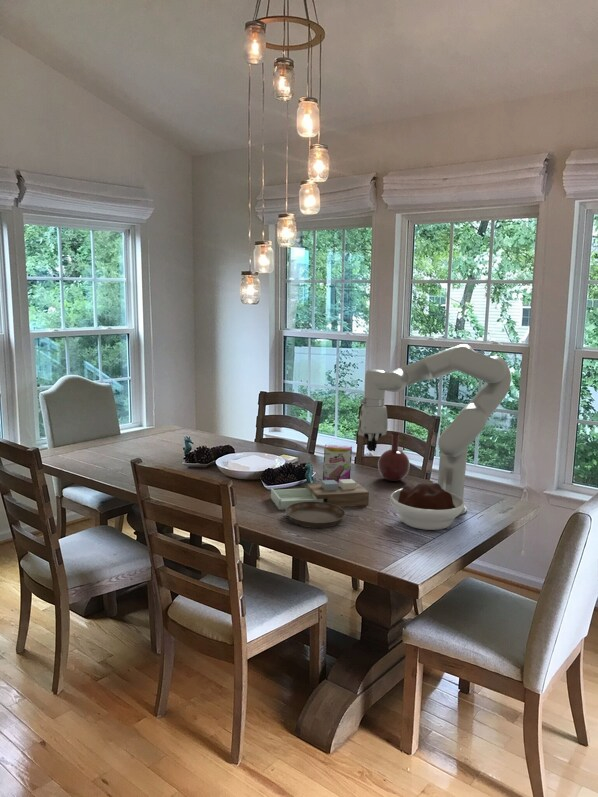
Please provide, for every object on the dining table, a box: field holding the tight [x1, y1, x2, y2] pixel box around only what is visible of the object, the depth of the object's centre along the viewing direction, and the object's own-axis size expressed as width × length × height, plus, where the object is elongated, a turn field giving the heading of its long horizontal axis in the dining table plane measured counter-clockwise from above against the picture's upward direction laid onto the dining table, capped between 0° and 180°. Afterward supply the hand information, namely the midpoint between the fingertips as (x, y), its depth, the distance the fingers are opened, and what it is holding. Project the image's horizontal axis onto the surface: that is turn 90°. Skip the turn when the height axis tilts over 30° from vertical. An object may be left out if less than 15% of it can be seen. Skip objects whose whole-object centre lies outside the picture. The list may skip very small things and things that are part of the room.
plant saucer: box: [285, 502, 346, 529], centre depth 236 cm, size 21×21×3 cm
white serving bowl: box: [389, 482, 465, 531], centre depth 233 cm, size 25×25×15 cm
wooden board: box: [306, 480, 370, 508], centre depth 256 cm, size 14×20×5 cm
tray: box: [270, 487, 324, 511], centre depth 253 cm, size 13×17×4 cm
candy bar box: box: [322, 444, 353, 482], centre depth 274 cm, size 11×5×16 cm, turn 84°
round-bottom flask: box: [377, 432, 411, 482], centre depth 284 cm, size 13×13×20 cm
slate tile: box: [321, 479, 338, 491], centre depth 255 cm, size 5×5×2 cm
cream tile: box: [339, 478, 357, 490], centre depth 257 cm, size 5×5×2 cm
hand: (371, 450), depth 257 cm, fingers closed
